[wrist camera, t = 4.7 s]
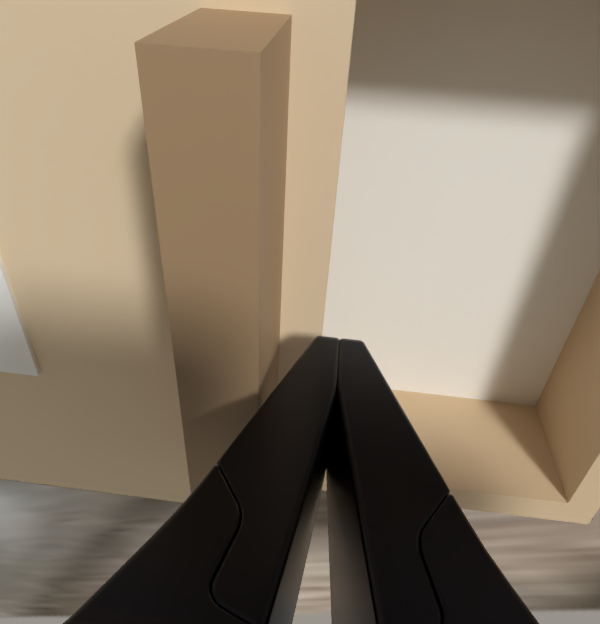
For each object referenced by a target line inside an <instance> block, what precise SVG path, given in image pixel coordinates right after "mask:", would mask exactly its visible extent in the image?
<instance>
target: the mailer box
mask: <svg viewBox="0 0 600 624" xmlns="http://www.w3.org/2000/svg"><path fill="white" fill-rule="evenodd" d="M322 336H326V337H335V338H338V339H339V340H340V339H342V338H345V339H354V340H361V341H363V342H364V344H365V345H366V347H367V349H368V350H369V352H370V354H371V355H372V357H373V359H374V361H375V362H376V364H377V366H378V367H379V369H380V371H381V373H382V374H383V376H384V378H385V380H386V381H387V383H388V385H389V386H390V388H391V390H392V392H393V393H394V395H395V397H396V398H397V400H398V402H399V404H400V405H401V407H402V409H403V410H404V412H405V414H406V416H407V417H408V419H409V421H410V423H411V424H412V426H413V428H414V429H415V431H416V433H417V435H418V436H419V438H420V440H421V441H422V443H423V445H424V447H425V448H426V450H427V452H428V453H429V455H430V457H431V459H432V460H433V462H434V464H435V466H436V467H437V469H438V471H439V472H440V474H441V476H442V478H443V479H444V481H445V483H446V484H447V486H448V488H449V490H450V494H451V495H453V496H454V498H455V500H456V501H457V503H458V505H459V506H460V508H463V509H471V510H479V511H487V512H495V513H502V514H510V515H518V516H526V517H534V518H542V519H550V520H558V521H565V522H573V523H581V524H589V522H590V521H591V519H592V518H593V516H594V515H595V514H596V512H597V511H598V509H599V508H600V0H356V8H355V18H354V28H353V38H352V47H351V57H350V67H349V77H348V87H347V97H346V106H345V116H344V126H343V136H342V146H341V156H340V165H339V175H338V185H337V195H336V205H335V215H334V224H333V234H332V244H331V254H330V264H329V274H328V283H327V293H326V303H325V313H324V323H323V333H322ZM322 491H327V482H326V473H325V478H324V482H323V487H322Z"/></svg>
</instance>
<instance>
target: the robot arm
mask: <svg viewBox="0 0 600 624" xmlns="http://www.w3.org/2000/svg"><path fill="white" fill-rule="evenodd" d="M325 473H326V482H327V508H328V535H329V562H330V589H331V616H332V624H539V623H538V622H537V620H536V619H535V618H534V616H533V615H532V614H531V612H530V611H529V609H528V608H527V606H526V605H525V604H524V602H523V601H522V600H521V598H520V597H519V596H518V594H517V593H516V591H515V590H514V589H513V587H512V586H511V585H510V583H509V582H508V580H507V579H506V578H505V576H504V575H503V573H502V572H501V570H500V569H499V568H498V566H497V565H496V563H495V562H494V560H493V559H492V558H491V556H490V555H489V553H488V552H487V550H486V549H485V547H484V546H483V544H482V543H481V541H480V539H479V538H478V536H477V535H476V533H475V531H474V530H473V528H472V527H471V525H470V523H469V522H468V520H467V519H466V517H465V515H464V513H463V512H462V510H461V508H460V506H459V505H458V503H457V501H456V500H455V498H454V496H453V495H451V494H450V490H449V488H448V486H447V484H446V483H445V481H444V479H443V478H442V476H441V474H440V472H439V471H438V469H437V467H436V466H435V464H434V462H433V460H432V459H431V457H430V455H429V453H428V452H427V450H426V448H425V447H424V445H423V443H422V441H421V440H420V438H419V436H418V435H417V433H416V431H415V429H414V428H413V426H412V424H411V423H410V421H409V419H408V417H407V416H406V414H405V412H404V410H403V409H402V407H401V405H400V404H399V402H398V400H397V398H396V397H395V395H394V393H393V392H392V390H391V388H390V386H389V385H388V383H387V381H386V380H385V378H384V376H383V374H382V373H381V371H380V369H379V367H378V366H377V364H376V362H375V361H374V359H373V357H372V355H371V354H370V352H369V350H368V349H367V347H366V345H365V344H364V342H363V341H361V340H354V339H345V338H342V339H340V340H339V339H338V338H335V337H326V336H317V337H315V338H314V340H313V341H312V342H311V343H310V345H309V346H308V347H307V348H306V350H305V351H304V352H303V354H302V355H301V356H300V357H299V359H298V360H297V361H296V362H295V364H294V365H293V366H292V367H291V369H290V370H289V371H288V373H287V374H286V375H285V376H284V378H283V379H282V380H281V381H280V383H279V384H278V385H277V386H276V388H275V389H274V390H273V392H272V393H271V394H270V395H269V397H268V398H267V399H266V400H265V402H264V403H263V404H262V405H261V407H260V408H259V409H258V411H257V412H256V413H255V414H254V416H253V417H252V418H251V419H250V421H249V422H248V423H247V424H246V426H245V427H244V428H243V430H242V431H241V432H240V433H239V435H238V436H237V437H236V438H235V440H234V441H233V442H232V443H231V445H230V446H229V447H228V449H227V450H226V451H225V452H224V454H223V455H222V456H221V457H220V459H219V460H218V461H217V466H216V465H215V466H213V467H212V468H211V470H210V471H209V472H208V474H207V475H206V476H205V477H204V479H203V480H202V481H201V482H200V484H199V485H198V486H197V487H196V488H195V490H194V491H193V492H192V493H191V494H190V496H189V497H188V498H187V499H186V500H185V501H184V503H183V504H182V505H181V506H180V507H179V509H178V510H177V511H176V512H175V513H174V514H173V515H172V516H171V517H170V518H169V519H168V520H167V521H166V522H165V523H164V524H163V525H162V526H161V527H160V528H159V530H158V531H157V532H156V533H155V534H154V535H153V536H152V537H151V538H150V539H149V540H148V541H147V542H146V543H145V544H144V545H143V546H142V547H141V548H140V549H139V550H138V551H137V552H136V553H135V554H134V555H133V556H132V557H131V558H130V559H129V560H128V561H127V562H126V563H125V564H124V565H123V566H122V567H121V568H120V569H119V570H118V571H117V572H116V573H115V574H114V575H113V576H112V577H111V578H110V579H109V580H108V581H107V582H106V583H105V584H104V585H102V586H101V587H100V588H99V589H98V590H97V591H96V592H95V593H94V594H93V595H92V596H91V597H90V598H89V599H88V600H87V601H86V602H85V603H84V604H83V605H82V606H81V607H80V608H79V609H78V610H77V611H76V612H75V613H74V614H73V615H72V616H71V617H70V618H69V619H68V620H67V621H65V622H64V623H63V624H292V621H293V617H294V612H295V608H296V603H297V599H298V594H299V590H300V585H301V581H302V576H303V572H304V567H305V563H306V558H307V554H308V549H309V545H310V540H311V536H312V531H313V527H314V522H315V518H316V514H317V509H318V505H319V500H320V496H321V491H322V487H323V482H324V478H325Z"/></svg>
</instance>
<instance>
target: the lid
mask: <svg viewBox="0 0 600 624" xmlns="http://www.w3.org/2000/svg"><path fill="white" fill-rule="evenodd" d="M355 8H356V0H0V479H4V480H11V481H19V482H27V483H34V484H42V485H50V486H57V487H65V488H73V489H80V490H88V491H96V492H104V493H111V494H119V495H127V496H134V497H142V498H150V499H157V500H165V501H173V502H180V503H184V501H185V500H186V499H187V498H188V497H189V496H190V494H191V493H192V492H193V491H194V490H195V488H196V487H197V486H198V485H199V484H200V482H201V481H202V480H203V479H204V477H205V476H206V475H207V474H208V472H209V471H210V470H211V468H212V467H213V466H215V465H216V466H217V461H218V460H219V459H220V457H221V456H222V455H223V454H224V452H225V451H226V450H227V449H228V447H229V446H230V445H231V443H232V442H233V441H234V440H235V438H236V437H237V436H238V435H239V433H240V432H241V431H242V430H243V428H244V427H245V426H246V424H247V423H248V422H249V421H250V419H251V418H252V417H253V416H254V414H255V413H256V412H257V411H258V409H259V408H260V407H261V405H262V404H263V403H264V402H265V400H266V399H267V398H268V397H269V395H270V394H271V393H272V392H273V390H274V389H275V388H276V386H277V385H278V384H279V383H280V381H281V380H282V379H283V378H284V376H285V375H286V374H287V373H288V371H289V370H290V369H291V367H292V366H293V365H294V364H295V362H296V361H297V360H298V359H299V357H300V356H301V355H302V354H303V352H304V351H305V350H306V348H307V347H308V346H309V345H310V343H311V342H312V341H313V340H314V338H315V337H317V336H322V333H323V323H324V313H325V303H326V293H327V283H328V274H329V264H330V254H331V244H332V234H333V224H334V215H335V205H336V195H337V185H338V175H339V165H340V156H341V146H342V136H343V126H344V116H345V106H346V97H347V87H348V77H349V67H350V57H351V47H352V38H353V28H354V18H355Z"/></svg>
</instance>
